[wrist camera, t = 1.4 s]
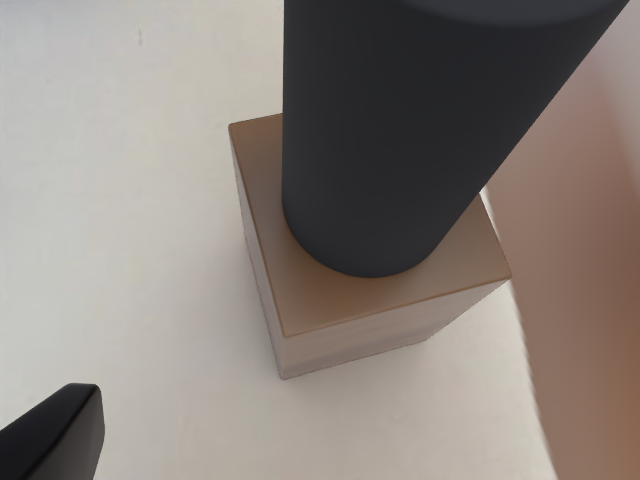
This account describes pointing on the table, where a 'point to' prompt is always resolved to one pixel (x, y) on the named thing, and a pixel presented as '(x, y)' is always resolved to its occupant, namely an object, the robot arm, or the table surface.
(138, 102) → the table surface
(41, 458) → the robot arm
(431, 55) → the dark grey cylinder
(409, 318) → the brown rectangular block
